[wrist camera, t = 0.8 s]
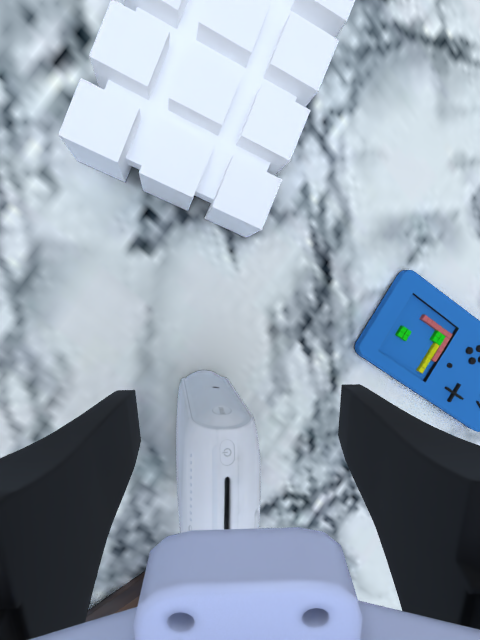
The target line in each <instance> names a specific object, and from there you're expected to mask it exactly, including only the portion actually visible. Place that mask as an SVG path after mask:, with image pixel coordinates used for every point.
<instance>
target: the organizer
mask: <svg viewBox="0 0 480 640" xmlns="http://www.w3.org/2000/svg"><path fill="white" fill-rule="evenodd" d="M354 2H355V0H124V5H122V4H121V3H119V2H117V1H115V0H111V2H110V4H109V7H108V9H107V12H106V15H105V17H104V20H103V22H102V25H101V27H100V30H99V32H98V35H97V38H96V40H95V43H94V45H93V48H92V50H91V53H90V55H89V57H90V60H91V63H92V66H93V69H94V73H95V76H96V79H97V82H98V85H99V87H98V86H96V85H94V84H92V83H90V82H88V81H86V80H84V79H82V78H80V81H79V83H78V86H77V88H76V91H75V94H74V96H73V99H72V101H71V104H70V106H69V109H68V111H67V114H66V117H65V119H64V122H63V124H62V127H61V129H60V132H59V134H58V135H59V137H60V138H61V139H62V141H63V142H64V144H65V145H66V146H67V148H68V149H69V150H70V152H71V153H72V155H73V156H74V157H75V159H76V160H77V161H79V162H81V163H84V164H86V165H88V166H90V167H92V168H94V169H97V170H99V171H101V172H103V173H105V174H108V175H110V176H112V177H114V178H116V179H119V180H121V181H123V182H126V180H127V177H128V175H129V172H130V169H131V167H132V166H133V167H135V168H137V169H139V170H140V171H139V175H140V180H141V184H142V189H143V191H145V192H147V193H149V194H151V195H154V196H156V197H158V198H160V199H162V200H165V201H167V202H169V203H171V204H173V205H175V206H178V207H180V208H182V209H184V210H186V211H188V210H189V207H190V205H191V202H192V200H193V197H194V195H195V196H197V197H199V198H201V199H203V200H205V201H207V202H210V206H209V208H208V210H207V213H206V215H205V218H204V219H206V220H208V221H211V222H213V223H215V224H217V225H219V226H221V227H224V228H226V229H228V230H230V231H232V232H235V233H237V234H239V235H241V236H243V237H246V238H247V237H249V236H251V235H253V234H255V233H257V232H259V231H261V230H262V228H263V226H264V223H265V221H266V218H267V216H268V213H269V211H270V209H271V206H272V204H273V201H274V199H275V196H276V194H277V191H278V189H279V186H280V184H281V182H282V179H280V178H278V177H276V176H274V175H275V174H276V173H277V172H278V171H280V170H281V169H282V168H283V167H284V166H285V165H286V164H287V163H288V162H289V161H290V159H291V157H292V154H293V152H294V150H295V147H296V145H297V142H298V140H299V137H300V135H301V132H302V130H303V127H304V125H305V123H306V120H307V118H308V115H309V113H310V110H309V109H307V108H306V105H307V104H308V103H309V102H310V101H311V99H312V98H313V97H314V96H315V94H316V93H317V92H318V91H319V88H320V86H321V83H322V81H323V78H324V76H325V73H326V71H327V68H328V66H329V63H330V61H331V59H332V56H333V54H334V51H335V49H336V46H337V44H338V41H339V40H338V39H336V38H335V37H336V35H337V34H338V33H339V31H340V30H341V28H342V27H343V26H344V24H345V23H346V21H347V19H348V17H349V14H350V12H351V9H352V7H353V4H354Z"/></svg>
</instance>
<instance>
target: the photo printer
mask: <svg viewBox="0 0 480 640" xmlns="http://www.w3.org/2000/svg"><path fill="white" fill-rule="evenodd" d="M176 470H177V495H178V509H179V522H180V533H183V532H187V531H191V530H222V529H256V528H259V520H260V492H261V469H260V450H259V443H258V435H257V429H256V425H255V421H254V418H253V415H252V414H251V412H250V411H249V409H248V408H247V407H246V405H245V404H244V402H243V401H242V399H241V398H240V396H239V395H238V393H237V392H236V390H235V389H234V387H233V386H232V384H231V383H230V381H229V380H228V378H226V377H221V376H220V375H218V374H217V373H215V372H212V371H208V370H201V371H196V372H194V373H192V374H190V375H189V376H188V377H187V378H182V380H181V383H180V387H179V393H178V403H177V429H176Z"/></svg>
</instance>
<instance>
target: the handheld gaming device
mask: <svg viewBox="0 0 480 640" xmlns="http://www.w3.org/2000/svg"><path fill="white" fill-rule="evenodd" d="M355 351H356V353H357V354H358V355H360V356H361V357H363V358H364V359H366V360H367V361H369V362H370V363H372V364H373V365H375V366H376V367H378V368H379V369H381V370H382V371H384V372H385V373H387V374H388V375H390V376H391V377H393V378H394V379H396V380H397V381H399V382H400V383H402V384H403V385H405V386H407V387H408V388H410V389H411V390H413V391H414V392H416V393H417V394H419V395H420V396H422V397H423V398H425V399H426V400H428V401H429V402H431V403H432V404H434V405H435V406H437V407H438V408H440V409H441V410H443V411H444V412H446V413H447V414H449V415H450V416H452V417H453V418H455V419H457V420H458V421H460V422H461V423H463V424H464V425H466V426H467V427H469V428H470V429H472V430H474V431H477V432H480V321H479V320H478V319H476V318H475V317H474V316H472V315H471V314H470V313H468V312H467V311H466V310H464V309H463V308H462V307H461V306H459V305H458V304H457V303H455V302H454V301H453V300H451V299H450V298H449V297H447V296H446V295H445V294H443V293H442V292H441V291H439V290H438V289H437V288H435V287H434V286H433V285H431V284H430V283H429V282H427V281H426V280H425V279H424V278H422V277H421V276H420V275H418V274H417V273H416V272H414V271H412V270H403V271H401V272H400V273H399V274H398V275H397V277H396V278H395V280H394V282H393V283H392V285H391V286H390V288H389V290H388V291H387V293H386V295H385V296H384V298H383V299H382V301H381V303H380V304H379V306H378V307H377V309H376V311H375V312H374V314H373V316H372V317H371V319H370V320H369V322H368V324H367V325H366V327H365V329H364V330H363V332H362V333H361V335H360V337H359V338H358V340H357V342H356V344H355Z"/></svg>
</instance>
